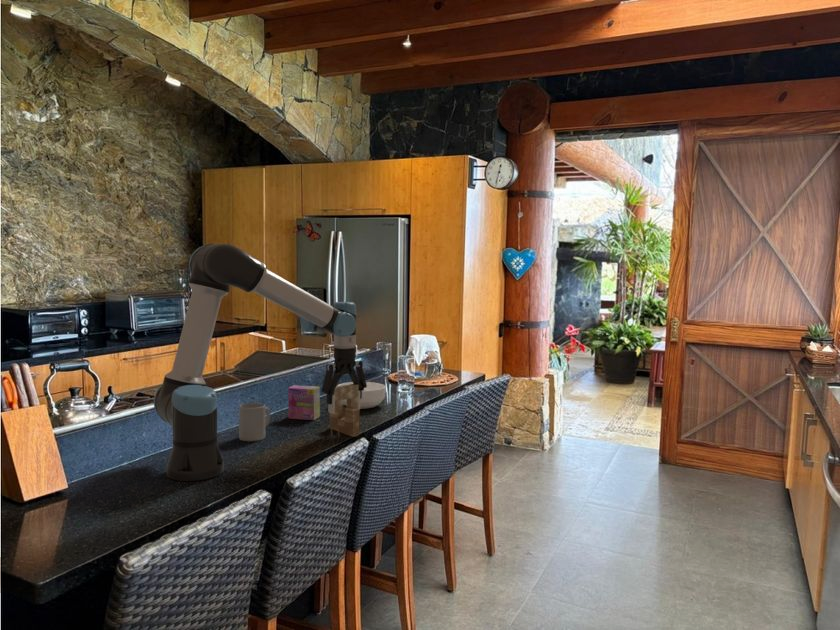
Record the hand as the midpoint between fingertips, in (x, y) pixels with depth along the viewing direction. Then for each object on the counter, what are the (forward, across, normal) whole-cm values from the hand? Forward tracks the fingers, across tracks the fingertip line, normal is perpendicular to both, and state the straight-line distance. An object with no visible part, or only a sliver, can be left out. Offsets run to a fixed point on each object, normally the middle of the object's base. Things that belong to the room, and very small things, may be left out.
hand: (344, 410), depth 221 cm
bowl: (+8, +27, +27) cm, 39 cm away
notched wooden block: (+7, 0, 0) cm, 7 cm away
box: (+8, -1, +25) cm, 26 cm away
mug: (+8, -27, +13) cm, 31 cm away
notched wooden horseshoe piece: (0, 0, 0) cm, 0 cm away
